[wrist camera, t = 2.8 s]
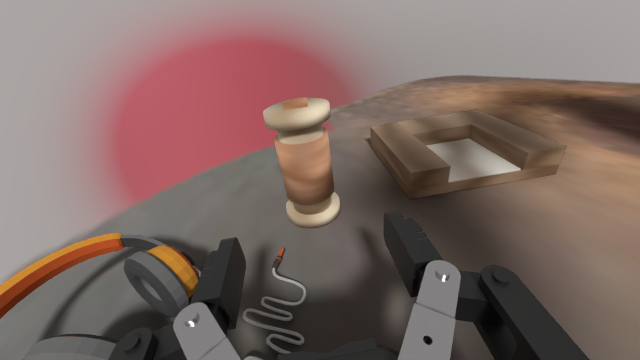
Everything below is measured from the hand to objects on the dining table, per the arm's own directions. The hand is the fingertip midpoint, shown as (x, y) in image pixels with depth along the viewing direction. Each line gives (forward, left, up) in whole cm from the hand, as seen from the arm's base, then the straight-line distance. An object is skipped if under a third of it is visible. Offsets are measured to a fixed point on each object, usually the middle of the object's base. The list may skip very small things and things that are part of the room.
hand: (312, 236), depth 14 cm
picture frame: (-18, -17, -7) cm, 26 cm away
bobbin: (0, -11, -7) cm, 13 cm away
